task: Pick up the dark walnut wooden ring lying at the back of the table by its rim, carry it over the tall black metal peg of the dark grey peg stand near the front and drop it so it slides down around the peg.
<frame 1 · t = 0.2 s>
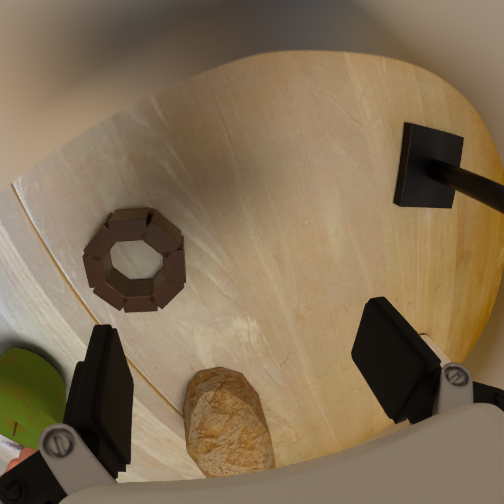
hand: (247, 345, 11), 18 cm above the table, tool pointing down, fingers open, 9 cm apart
apple: (35, 367, 31), on the table
can: (412, 347, 44), on the table
dark grey peg stand: (428, 167, 30), on the table
ring: (137, 254, 28), on the table
teapot: (39, 452, 41), on the table
bread: (232, 434, 45), on the table
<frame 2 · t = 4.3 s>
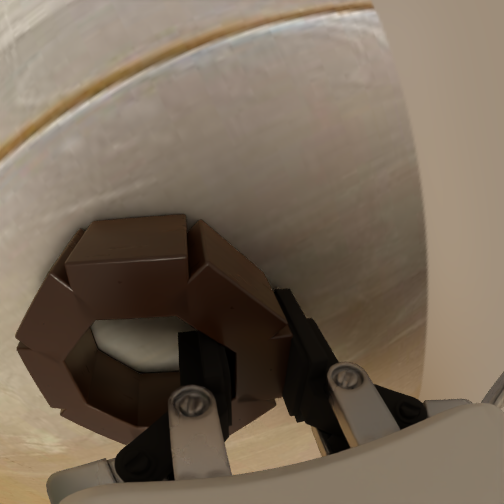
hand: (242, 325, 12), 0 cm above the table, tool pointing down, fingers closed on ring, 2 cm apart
ring: (154, 326, 11), on the table, touching gripper
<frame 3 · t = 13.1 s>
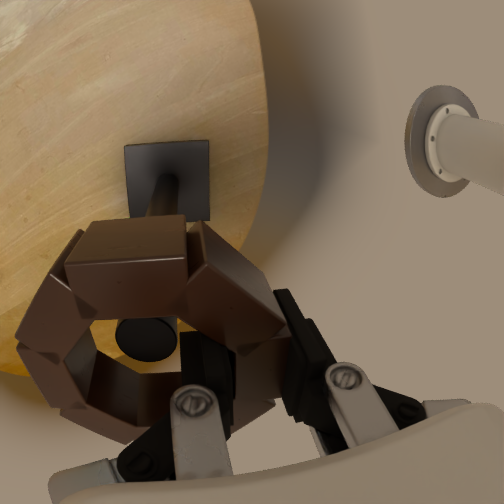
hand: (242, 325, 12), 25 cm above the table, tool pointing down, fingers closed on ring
dark grey peg stand: (167, 181, 33), on the table
ring: (153, 326, 11), point 24 cm above the table, touching gripper
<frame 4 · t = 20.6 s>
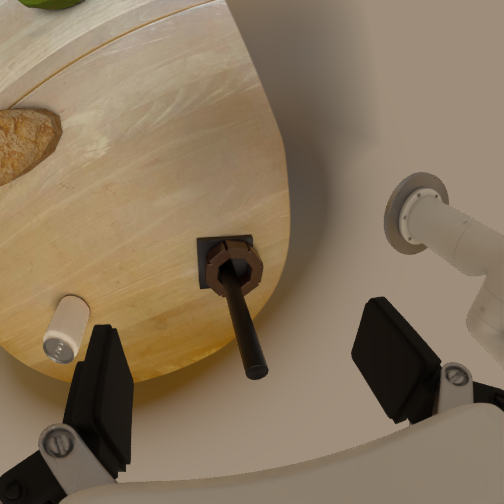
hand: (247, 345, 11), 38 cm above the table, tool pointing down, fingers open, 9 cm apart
can: (75, 307, 51), on the table
dark grey peg stand: (224, 260, 53), on the table
ring: (231, 264, 52), point 1 cm above the table, touching dark grey peg stand
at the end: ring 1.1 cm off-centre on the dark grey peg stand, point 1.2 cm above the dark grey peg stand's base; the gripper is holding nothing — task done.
